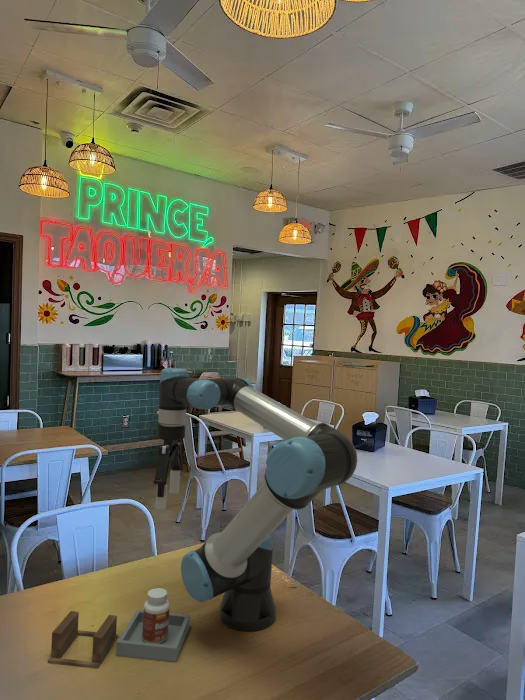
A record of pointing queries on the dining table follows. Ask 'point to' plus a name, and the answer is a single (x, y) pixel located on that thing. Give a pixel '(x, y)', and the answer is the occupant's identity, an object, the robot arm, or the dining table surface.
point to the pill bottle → (156, 617)
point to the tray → (165, 651)
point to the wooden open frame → (69, 632)
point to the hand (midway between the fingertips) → (167, 500)
